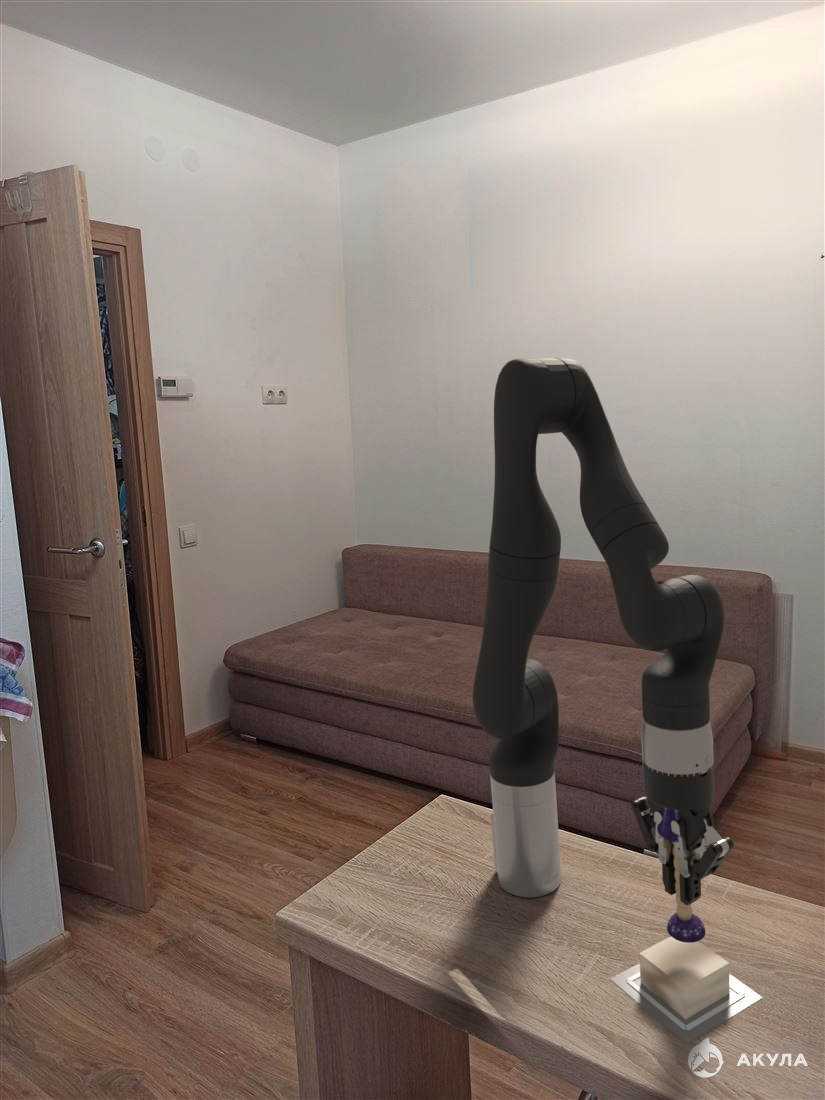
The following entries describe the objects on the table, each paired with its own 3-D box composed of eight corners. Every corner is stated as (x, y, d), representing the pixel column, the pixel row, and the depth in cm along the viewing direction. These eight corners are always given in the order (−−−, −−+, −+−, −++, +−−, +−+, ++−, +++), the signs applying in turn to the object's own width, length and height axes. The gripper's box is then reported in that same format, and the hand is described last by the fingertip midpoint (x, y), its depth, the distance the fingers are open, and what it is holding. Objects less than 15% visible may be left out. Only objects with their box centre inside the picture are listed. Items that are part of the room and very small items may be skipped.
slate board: (610, 986, 99) (610, 978, 98) (682, 946, 104) (682, 939, 104) (686, 1052, 88) (686, 1043, 88) (762, 1005, 94) (762, 996, 93)
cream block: (640, 982, 97) (639, 953, 97) (683, 959, 101) (682, 930, 100) (685, 1019, 91) (684, 988, 90) (729, 993, 94) (729, 963, 94)
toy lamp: (709, 946, 92) (701, 808, 89) (665, 945, 93) (657, 809, 90) (702, 920, 96) (695, 788, 93) (661, 919, 97) (653, 788, 94)
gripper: (608, 744, 95) (615, 879, 98) (701, 790, 83) (706, 942, 86) (656, 726, 98) (661, 857, 101) (752, 768, 86) (755, 915, 89)
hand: (682, 895), depth 94 cm, fingers closed on toy lamp
